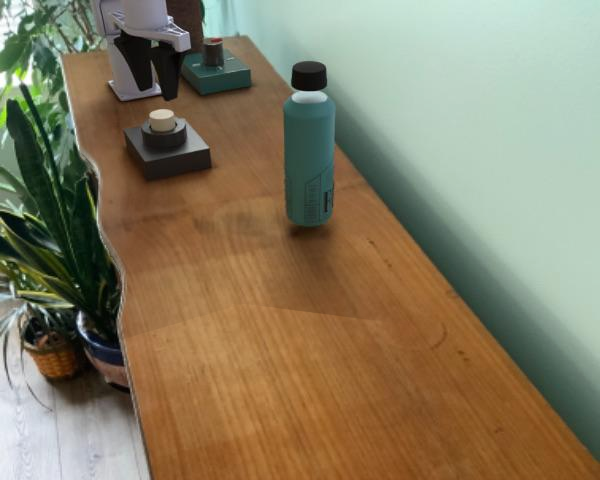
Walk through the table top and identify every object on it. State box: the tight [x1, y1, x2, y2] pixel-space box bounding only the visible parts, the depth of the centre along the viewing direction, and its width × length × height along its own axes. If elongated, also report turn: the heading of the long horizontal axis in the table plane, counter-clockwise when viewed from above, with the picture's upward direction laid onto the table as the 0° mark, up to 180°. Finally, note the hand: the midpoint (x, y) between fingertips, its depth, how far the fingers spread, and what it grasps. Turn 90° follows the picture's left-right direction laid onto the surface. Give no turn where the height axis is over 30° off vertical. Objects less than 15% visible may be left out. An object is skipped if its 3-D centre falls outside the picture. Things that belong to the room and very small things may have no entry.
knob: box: [201, 36, 224, 66], centre depth 116 cm, size 4×4×4 cm
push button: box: [148, 108, 176, 132], centre depth 93 cm, size 4×4×2 cm
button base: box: [122, 116, 213, 182], centre depth 96 cm, size 12×10×5 cm
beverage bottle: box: [282, 60, 337, 227], centre depth 77 cm, size 6×7×20 cm
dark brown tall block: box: [165, 0, 205, 55], centre depth 120 cm, size 8×7×20 cm
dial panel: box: [180, 48, 252, 96], centre depth 118 cm, size 12×10×3 cm
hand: (158, 94), depth 91 cm, fingers open, 5 cm apart
